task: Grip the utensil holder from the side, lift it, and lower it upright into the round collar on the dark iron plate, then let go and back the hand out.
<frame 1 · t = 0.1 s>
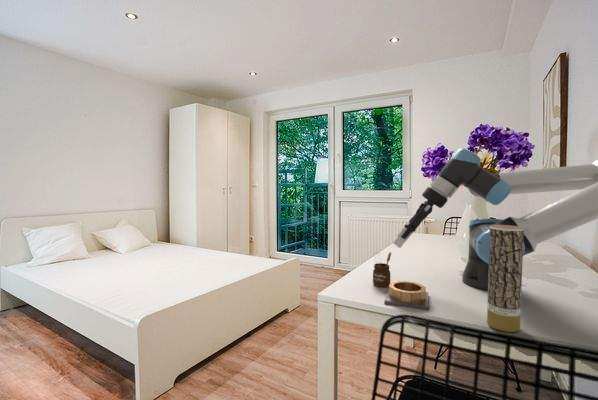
hand: (398, 241, 106), 15 cm above the table, tool tilted 35°, fingers open, 13 cm apart
utensil holder: (381, 285, 108), on the table
collar plate: (407, 299, 94), on the table
paper tube: (502, 327, 76), on the table
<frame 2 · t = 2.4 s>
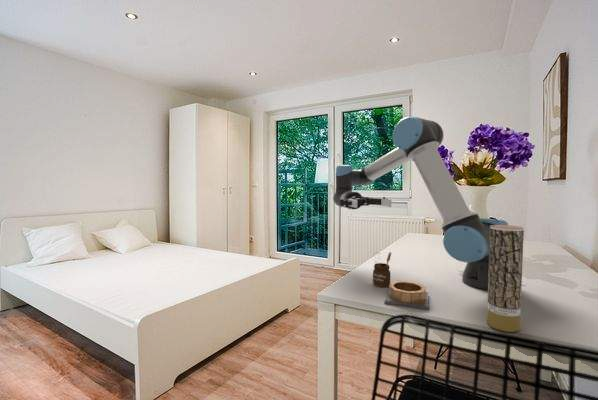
hand: (373, 203, 113), 28 cm above the table, tool horizontal, fingers open, 13 cm apart
nothing on the table moved.
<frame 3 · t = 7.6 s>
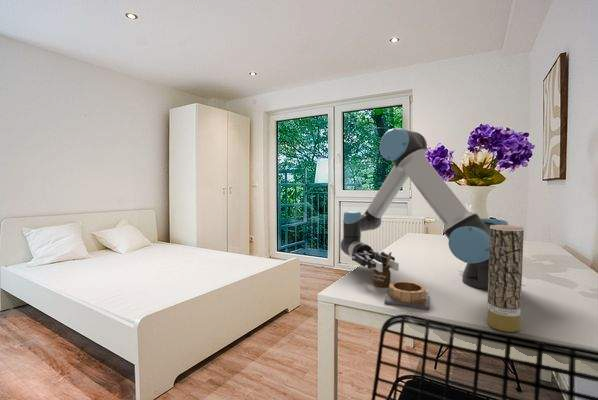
hand: (389, 267, 102), 8 cm above the table, tool horizontal, fingers closed on utensil holder, 5 cm apart
utensil holder: (381, 285, 108), on the table, touching gripper
everything else where it was.
when the fingers open (10 cm above the table, at t = 12.2 s): utensil holder drops 1 cm, resting on collar plate.
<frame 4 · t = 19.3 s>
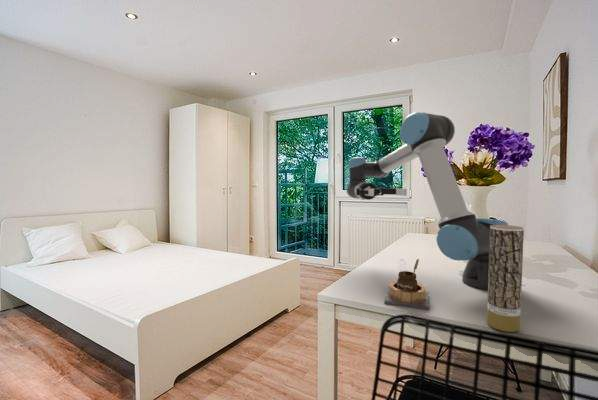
hand: (389, 192, 117), 32 cm above the table, tool horizontal, fingers open, 13 cm apart
utensil holder: (407, 296, 94), point 1 cm above the table, touching collar plate
everything else where it was.
at the end: utensil holder 0.1 cm off-centre on the collar plate, point 0.8 cm above the collar plate's base; utensil holder tilted 0°; the gripper is holding nothing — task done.
